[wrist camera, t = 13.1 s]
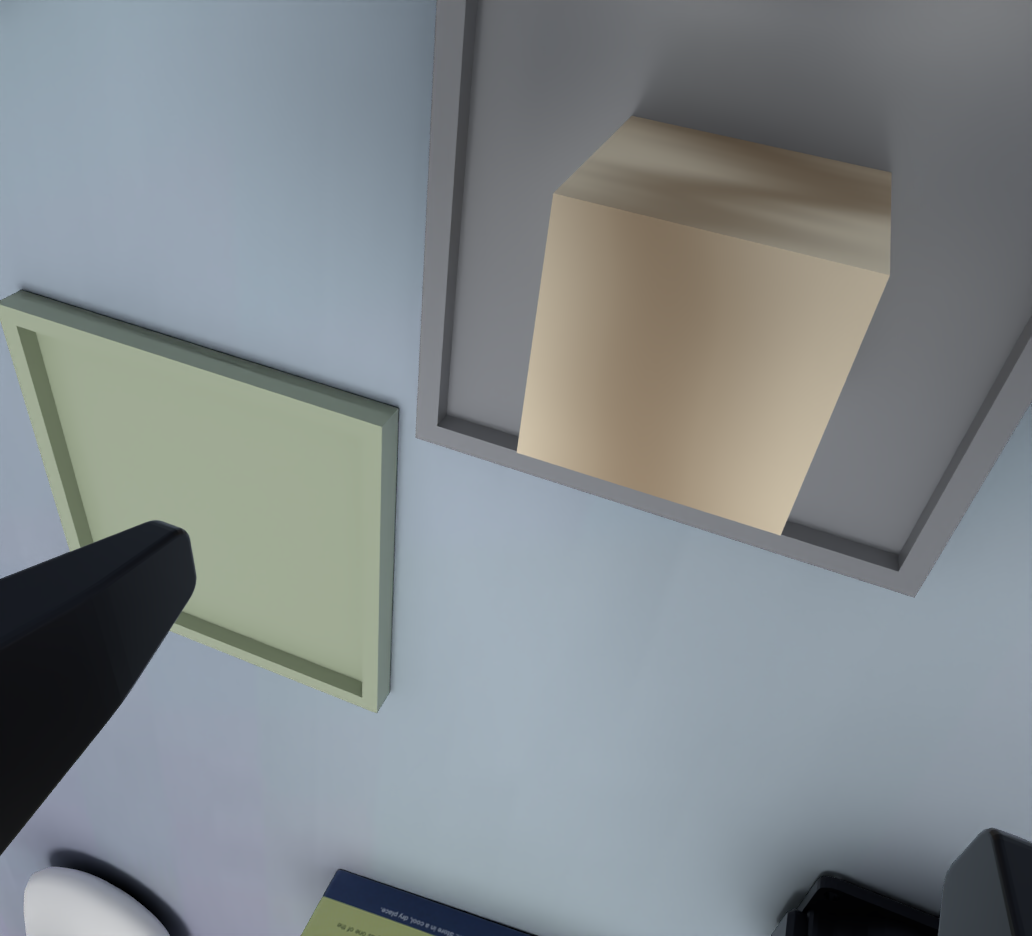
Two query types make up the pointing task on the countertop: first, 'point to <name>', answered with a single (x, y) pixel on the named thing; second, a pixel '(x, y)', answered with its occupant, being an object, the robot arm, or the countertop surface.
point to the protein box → (390, 913)
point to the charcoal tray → (778, 123)
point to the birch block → (702, 315)
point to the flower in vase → (83, 907)
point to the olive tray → (224, 486)
